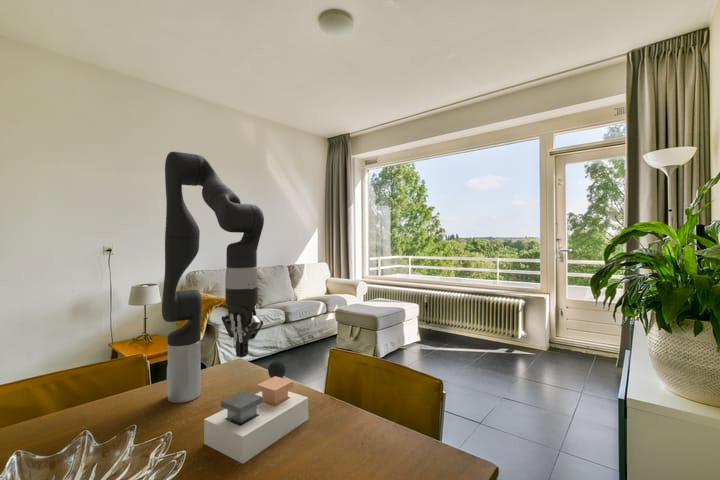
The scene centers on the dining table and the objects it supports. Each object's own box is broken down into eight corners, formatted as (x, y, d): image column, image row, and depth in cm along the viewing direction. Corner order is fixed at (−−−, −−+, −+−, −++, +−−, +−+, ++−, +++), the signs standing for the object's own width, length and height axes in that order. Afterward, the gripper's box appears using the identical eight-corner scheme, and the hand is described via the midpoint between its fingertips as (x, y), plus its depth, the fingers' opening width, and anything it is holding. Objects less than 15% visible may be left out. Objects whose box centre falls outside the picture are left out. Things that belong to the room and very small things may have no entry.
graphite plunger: (221, 427, 83) (221, 401, 83) (244, 415, 89) (244, 390, 89) (239, 436, 80) (239, 408, 80) (262, 422, 86) (262, 397, 86)
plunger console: (204, 443, 84) (204, 419, 84) (271, 406, 102) (271, 386, 102) (243, 463, 76) (242, 436, 76) (308, 419, 95) (308, 397, 95)
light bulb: (281, 396, 109) (281, 364, 109) (264, 394, 110) (264, 363, 110) (288, 388, 114) (288, 358, 114) (272, 386, 116) (272, 357, 115)
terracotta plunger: (256, 408, 93) (256, 384, 93) (275, 398, 99) (275, 376, 99) (275, 415, 89) (274, 390, 89) (293, 404, 95) (293, 381, 95)
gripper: (211, 285, 85) (211, 355, 85) (247, 289, 78) (248, 366, 78) (236, 282, 91) (236, 347, 91) (272, 285, 84) (272, 356, 84)
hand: (241, 356), depth 84 cm, fingers closed
